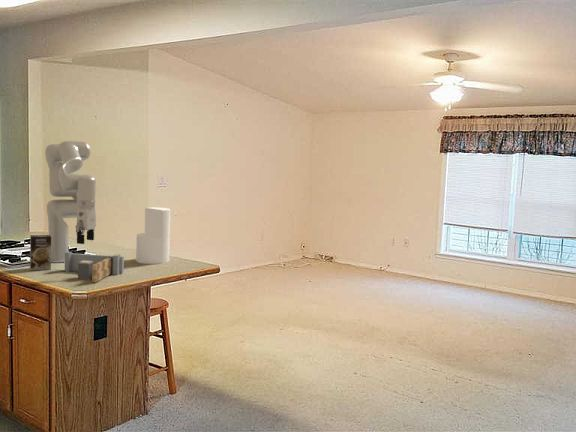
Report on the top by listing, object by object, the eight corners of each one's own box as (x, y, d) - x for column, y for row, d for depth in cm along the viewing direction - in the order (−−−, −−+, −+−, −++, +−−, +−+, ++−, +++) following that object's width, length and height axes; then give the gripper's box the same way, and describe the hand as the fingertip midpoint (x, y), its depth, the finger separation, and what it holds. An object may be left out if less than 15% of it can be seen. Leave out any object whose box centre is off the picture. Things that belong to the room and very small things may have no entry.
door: (109, 272, 262) (109, 256, 261) (113, 273, 262) (113, 256, 261) (91, 282, 242) (92, 264, 241) (95, 282, 241) (96, 264, 241)
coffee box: (30, 270, 260) (30, 236, 258) (29, 268, 266) (29, 234, 264) (51, 269, 264) (51, 236, 262) (50, 267, 270) (50, 234, 268)
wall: (62, 271, 262) (62, 252, 261) (67, 269, 266) (67, 250, 265) (119, 275, 260) (120, 256, 259) (123, 273, 264) (123, 254, 263)
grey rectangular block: (88, 279, 248) (88, 262, 247) (77, 278, 248) (78, 262, 248) (93, 277, 253) (93, 260, 252) (82, 276, 253) (82, 260, 253)
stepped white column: (157, 256, 309) (158, 206, 306) (175, 261, 297) (177, 209, 294) (130, 259, 297) (130, 207, 294) (147, 265, 285) (148, 211, 282)
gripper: (85, 206, 238) (84, 245, 240) (102, 202, 255) (101, 239, 258) (68, 205, 239) (68, 244, 241) (86, 201, 256) (86, 237, 258)
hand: (85, 241), depth 249 cm, fingers open, 9 cm apart
